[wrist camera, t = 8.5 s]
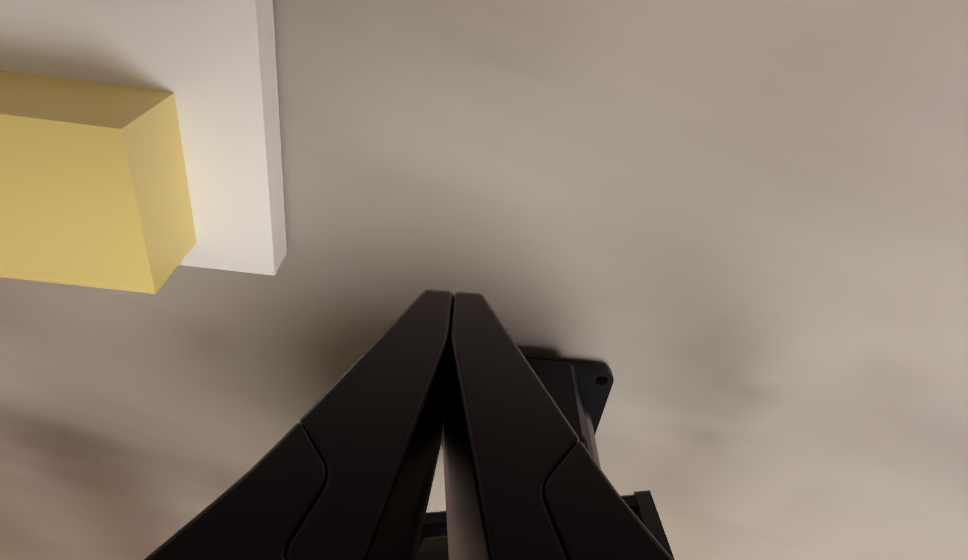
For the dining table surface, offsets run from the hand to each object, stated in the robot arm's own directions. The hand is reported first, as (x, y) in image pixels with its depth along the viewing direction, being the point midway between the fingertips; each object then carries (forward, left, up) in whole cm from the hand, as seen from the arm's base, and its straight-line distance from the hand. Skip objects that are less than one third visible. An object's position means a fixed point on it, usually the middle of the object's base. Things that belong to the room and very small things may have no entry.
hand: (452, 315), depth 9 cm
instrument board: (0, +16, -12) cm, 20 cm away
